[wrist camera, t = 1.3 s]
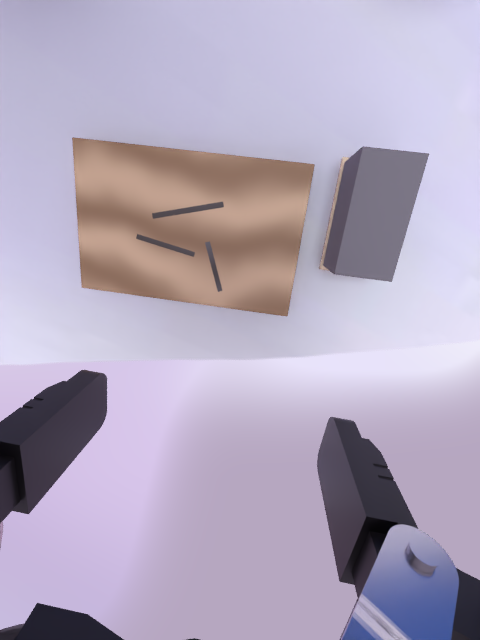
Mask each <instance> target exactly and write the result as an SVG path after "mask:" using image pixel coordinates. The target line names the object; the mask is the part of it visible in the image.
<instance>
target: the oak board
mask: <svg viewBox="0 0 480 640" xmlns="http://www.w3.org/2000/svg"><path fill="white" fill-rule="evenodd" d="M72 140H73V155H74V171H75V187H76V203H77V219H78V235H79V251H80V267H81V283H82V288H89V289H96V290H103V291H110V292H117V293H124V294H131V295H139V296H146V297H153V298H160V299H167V300H174V301H181V302H188V303H195V304H203V305H210V306H217V307H224V308H231V309H238V310H245V311H252V312H259V313H267V314H274V315H281V316H287V315H288V310H289V304H290V298H291V293H292V287H293V282H294V276H295V271H296V265H297V259H298V254H299V248H300V243H301V237H302V232H303V226H304V220H305V215H306V209H307V204H308V198H309V193H310V187H311V181H312V176H313V170H314V165H315V164H307V163H298V162H289V161H280V160H271V159H262V158H252V157H243V156H234V155H225V154H216V153H207V152H198V151H189V150H180V149H171V148H162V147H153V146H144V145H135V144H126V143H117V142H108V141H99V140H90V139H81V138H72Z"/></svg>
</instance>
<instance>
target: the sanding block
mask: <svg viewBox="0 0 480 640" xmlns="http://www.w3.org/2000/svg"><path fill="white" fill-rule="evenodd" d="M428 156H429V154H427V153H418V152H409V151H399V150H390V149H381V148H371V147H362V148H361V149H360V150H359V151H357V152H356V153H355V154H354V155H353V156H351V157H350V158H347V157H343V158H342V161H341V166H340V171H339V176H338V181H337V185H336V190H335V195H334V200H333V205H332V210H331V214H330V219H329V224H328V229H327V234H326V239H325V243H324V248H323V253H322V258H321V263H320V268H319V269H322V270H330V271H331V272H332V273H334V274H337V275H345V276H352V277H360V278H367V279H375V280H382V281H390V282H392V279H393V275H394V272H395V269H396V265H397V262H398V258H399V255H400V251H401V248H402V245H403V241H404V238H405V234H406V231H407V228H408V224H409V221H410V217H411V214H412V210H413V207H414V204H415V200H416V197H417V193H418V190H419V186H420V183H421V180H422V176H423V173H424V169H425V166H426V163H427V159H428Z"/></svg>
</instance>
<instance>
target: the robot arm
mask: <svg viewBox="0 0 480 640" xmlns="http://www.w3.org/2000/svg"><path fill="white" fill-rule="evenodd" d="M106 413H107V377H106V375H105V374H103V373H98V372H92V371H87V370H81V371H80V372H78V373H77V374H76V375H75V376H73V377H72V378H71V379H69V380H68V381H62V382H60V383H57V384H55V385H53V386H50V387H48V388H46V389H45V390H43V391H42V392H41V393H39V394H38V395H36V396H35V397H34V399H31V400H30V401H28V402H27V403H26V404H24V405H23V407H22V408H19V409H17V410H16V411H15V412H13V413H12V414H11V415H9V416H8V417H7V418H5V419H4V420H2V421H1V422H0V548H1V539H2V533H3V522H2V521H3V520H4V519H5V518H6V517H7V515H8V514H9V513H10V512H11V511H16V512H21V513H25V514H29V513H30V512H31V511H32V510H33V508H34V507H35V506H36V505H37V504H38V502H39V501H40V500H41V499H42V498H43V496H44V495H45V494H46V492H48V490H49V489H50V488H51V487H52V485H53V484H54V483H55V482H56V481H57V480H58V478H59V477H60V476H61V475H62V474H63V472H64V471H65V470H66V469H67V467H68V466H69V465H70V464H71V463H72V461H73V460H74V459H75V458H76V457H77V455H78V454H79V453H80V452H81V450H82V449H83V448H84V447H85V446H86V445H87V443H88V442H89V441H90V440H91V439H92V437H93V436H94V435H95V434H96V433H97V431H98V430H99V429H100V428H101V426H102V424H103V422H104V420H105V417H106ZM317 467H318V474H319V480H320V485H321V490H322V494H323V500H324V505H325V510H326V515H327V520H328V525H329V530H330V535H331V540H332V545H333V551H334V556H335V561H336V566H337V571H338V576H339V581H340V582H344V583H349V584H354V585H355V588H356V592H357V596H358V599H357V601H356V604H355V606H354V608H353V610H352V613H351V615H350V617H349V619H348V622H347V624H346V626H345V628H344V631H343V633H342V635H341V638H340V640H480V580H478V579H476V578H474V577H472V576H470V575H468V574H466V573H464V572H462V571H460V570H459V569H457V568H456V567H455V565H454V563H453V561H452V560H451V558H450V557H449V555H448V554H447V553H446V551H445V550H444V549H443V548H442V547H441V546H440V545H439V544H438V543H437V542H436V541H435V540H434V539H433V538H431V537H430V536H429V535H427V534H426V533H424V532H423V531H421V530H419V529H418V527H417V525H416V523H415V521H414V519H413V517H412V515H411V513H410V511H409V509H408V507H407V505H406V503H405V501H404V499H403V497H402V495H401V492H400V490H399V488H398V486H397V485H396V482H395V481H393V476H392V474H391V472H390V470H389V469H388V466H387V464H386V462H385V460H384V458H383V456H382V454H381V452H380V451H379V450H378V449H377V448H376V447H375V446H374V444H373V443H372V442H371V441H370V440H369V439H364V438H361V435H360V433H359V431H358V428H357V426H356V424H355V422H354V421H351V420H345V419H340V418H335V417H330V418H329V420H328V423H327V427H326V430H325V433H324V436H323V440H322V443H321V446H320V450H319V453H318V461H317ZM0 640H123V639H122V638H121V637H119V636H118V635H116V634H115V633H113V632H112V631H111V630H109V629H108V628H106V627H105V626H103V625H102V624H100V623H99V622H98V621H96V620H95V619H93V618H92V617H90V616H89V615H88V614H84V613H79V612H75V611H70V610H66V609H61V608H57V607H52V606H48V605H44V604H39V603H37V604H36V606H35V608H34V609H33V611H32V612H31V614H30V616H29V618H28V619H27V621H26V622H25V624H19V625H16V626H12V627H8V628H5V629H2V630H0ZM188 640H199V639H188Z"/></svg>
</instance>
